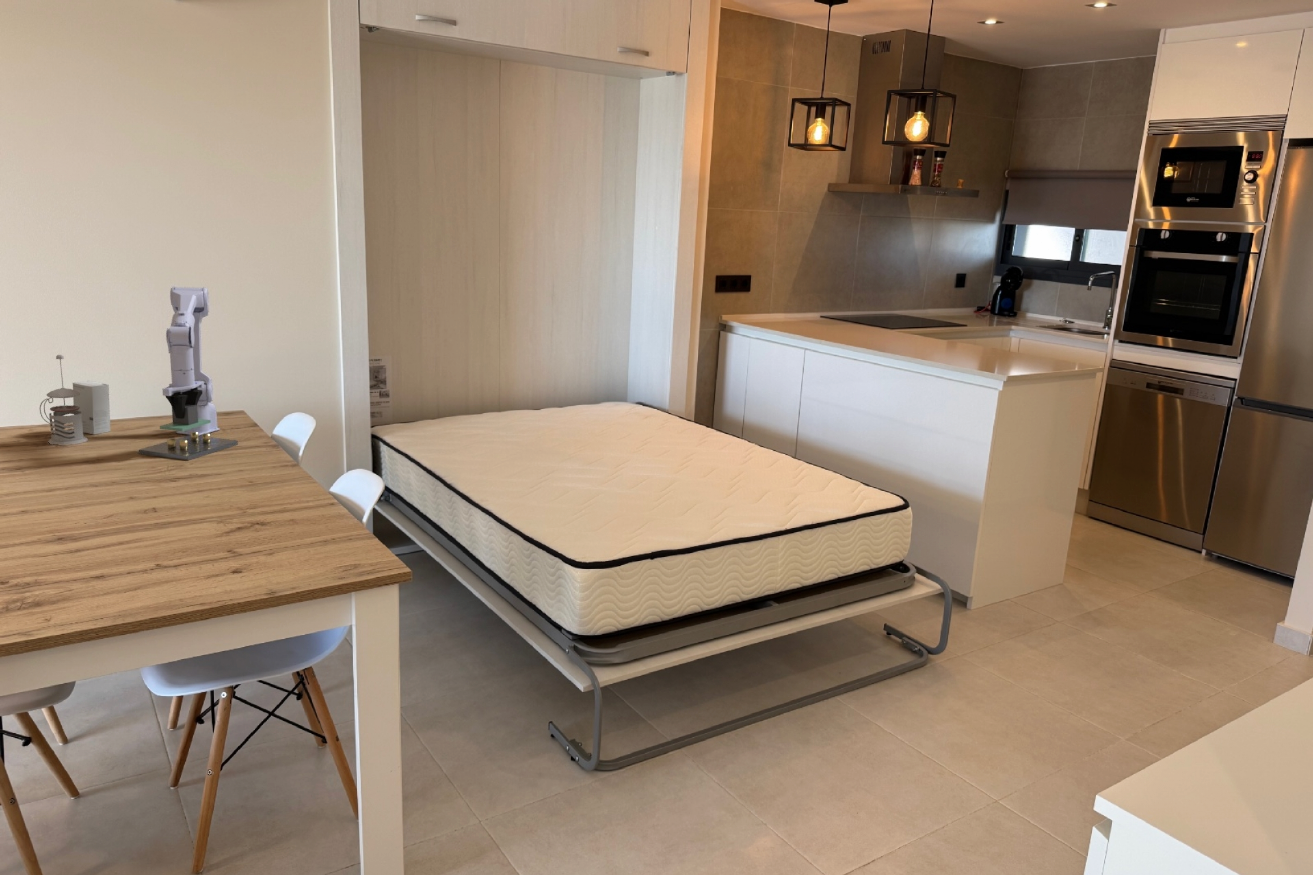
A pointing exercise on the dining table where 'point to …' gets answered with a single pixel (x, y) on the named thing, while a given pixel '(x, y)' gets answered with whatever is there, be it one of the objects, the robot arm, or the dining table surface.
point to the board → (184, 427)
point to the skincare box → (93, 406)
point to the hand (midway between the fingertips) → (185, 416)
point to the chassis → (188, 446)
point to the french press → (64, 417)
